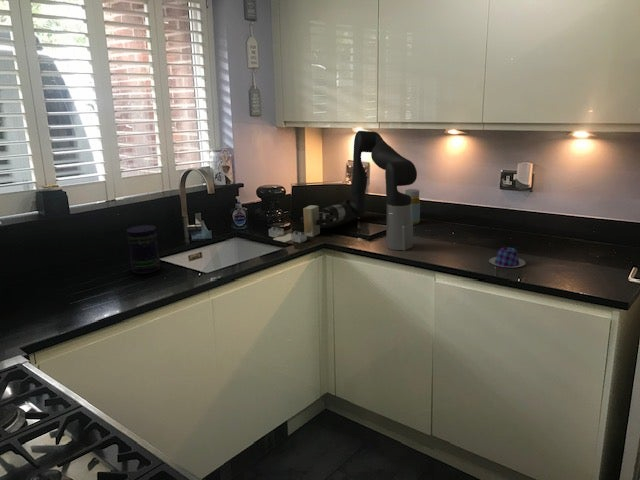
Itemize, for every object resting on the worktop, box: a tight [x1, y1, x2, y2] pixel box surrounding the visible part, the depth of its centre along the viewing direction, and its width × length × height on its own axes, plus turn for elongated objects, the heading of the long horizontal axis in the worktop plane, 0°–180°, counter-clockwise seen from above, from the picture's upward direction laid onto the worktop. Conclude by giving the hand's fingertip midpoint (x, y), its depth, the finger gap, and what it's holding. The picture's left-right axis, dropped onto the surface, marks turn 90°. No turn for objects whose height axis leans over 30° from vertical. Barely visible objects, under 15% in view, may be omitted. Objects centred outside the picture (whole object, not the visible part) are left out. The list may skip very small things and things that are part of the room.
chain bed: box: [268, 226, 308, 244], centre depth 229 cm, size 18×4×4 cm, turn 50°
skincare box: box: [302, 204, 321, 238], centre depth 232 cm, size 6×4×12 cm
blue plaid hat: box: [488, 246, 526, 268], centre depth 189 cm, size 12×12×5 cm
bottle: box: [404, 188, 421, 226], centre depth 245 cm, size 7×7×15 cm
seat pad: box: [272, 233, 292, 243], centre depth 229 cm, size 7×10×1 cm
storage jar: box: [126, 224, 161, 274], centre depth 194 cm, size 10×10×15 cm
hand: (308, 221), depth 230 cm, fingers open, 8 cm apart
